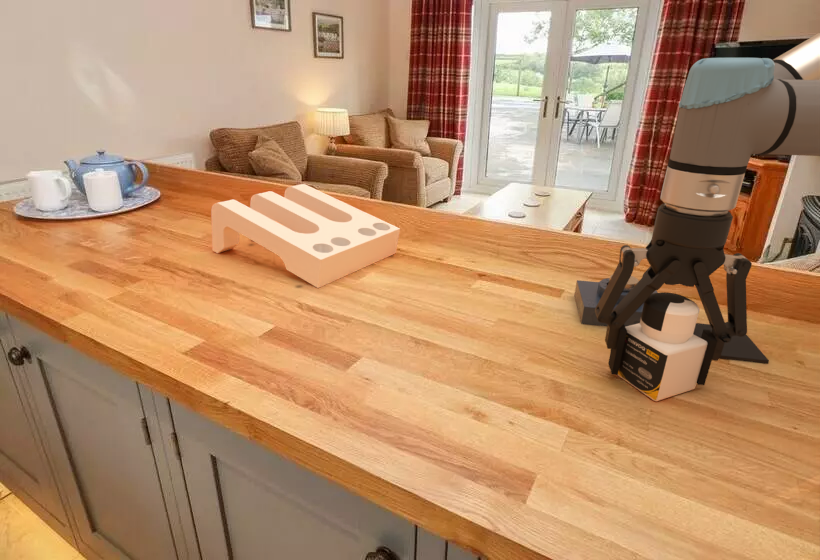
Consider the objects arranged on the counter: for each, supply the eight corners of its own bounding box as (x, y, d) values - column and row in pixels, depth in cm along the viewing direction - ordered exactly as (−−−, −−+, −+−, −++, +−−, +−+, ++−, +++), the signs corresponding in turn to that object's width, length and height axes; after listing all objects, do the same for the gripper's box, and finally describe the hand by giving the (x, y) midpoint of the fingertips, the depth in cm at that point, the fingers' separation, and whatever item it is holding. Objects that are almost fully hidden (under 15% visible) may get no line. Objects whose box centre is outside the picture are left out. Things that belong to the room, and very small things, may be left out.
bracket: (320, 259, 88) (210, 199, 102) (315, 314, 94) (212, 250, 108) (400, 228, 106) (297, 180, 120) (391, 276, 112) (294, 225, 126)
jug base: (650, 303, 87) (656, 277, 85) (667, 333, 77) (674, 304, 75) (574, 296, 89) (578, 270, 87) (581, 324, 79) (585, 296, 77)
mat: (739, 330, 78) (740, 327, 78) (768, 364, 69) (769, 360, 69) (671, 323, 80) (672, 320, 79) (691, 355, 71) (692, 352, 70)
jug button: (633, 284, 83) (635, 274, 82) (639, 295, 79) (641, 285, 78) (606, 282, 83) (608, 272, 83) (610, 292, 79) (612, 282, 79)
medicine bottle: (612, 372, 66) (628, 292, 62) (650, 361, 69) (669, 283, 64) (655, 403, 60) (677, 316, 56) (695, 389, 63) (720, 306, 58)
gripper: (597, 209, 54) (568, 379, 63) (826, 223, 50) (761, 402, 59) (588, 193, 61) (564, 349, 70) (789, 205, 57) (736, 368, 66)
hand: (654, 373), depth 64 cm, fingers closed on medicine bottle, 10 cm apart
